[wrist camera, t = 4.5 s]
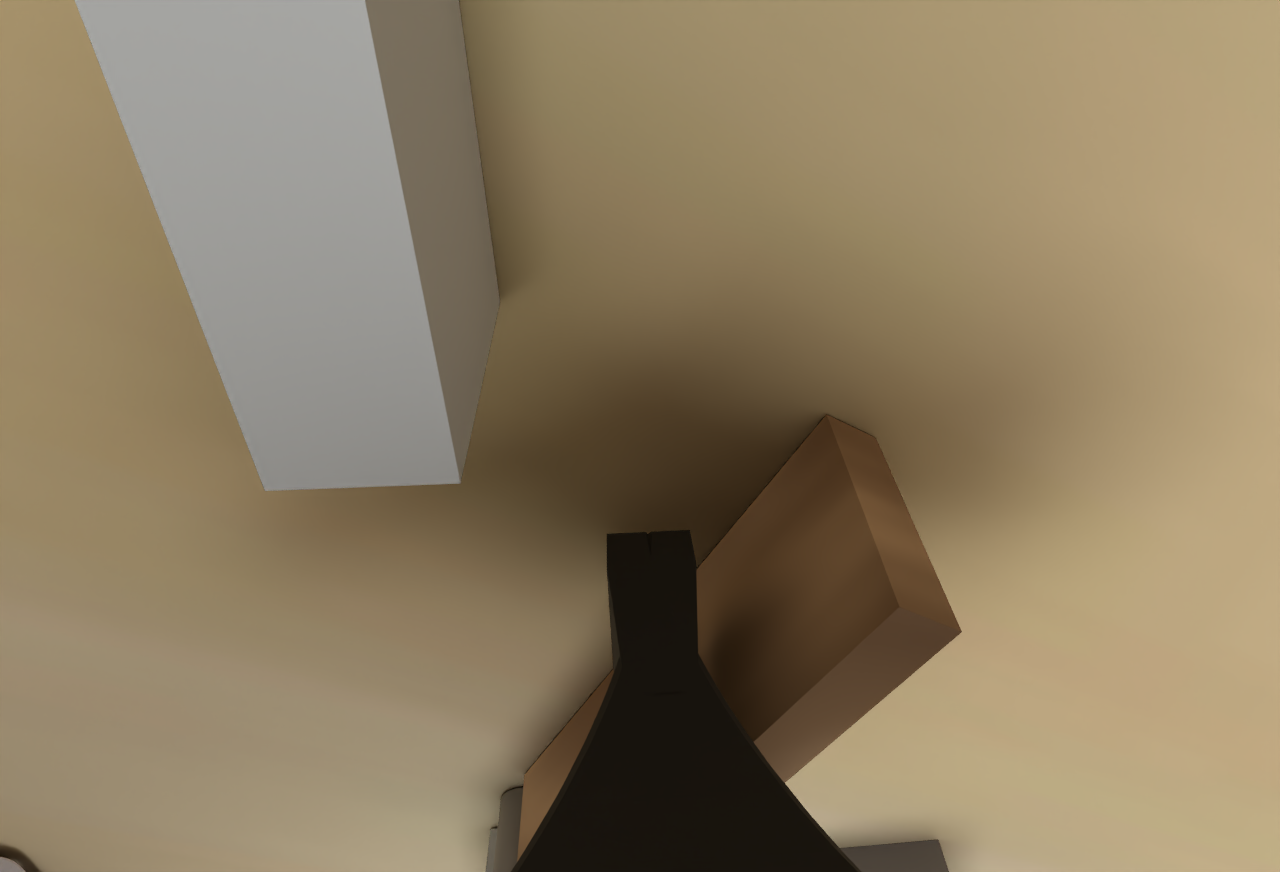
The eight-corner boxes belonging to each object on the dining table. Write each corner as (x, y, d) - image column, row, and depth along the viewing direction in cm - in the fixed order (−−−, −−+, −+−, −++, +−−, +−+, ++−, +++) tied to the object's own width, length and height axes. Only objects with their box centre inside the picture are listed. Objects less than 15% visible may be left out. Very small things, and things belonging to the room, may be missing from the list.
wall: (585, 928, 24) (582, 1121, 20) (516, 931, 24) (501, 1125, 20) (429, -221, 8) (294, -258, 5) (225, -217, 8) (-63, -249, 5)
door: (593, 793, 19) (591, 985, 16) (524, 774, 19) (507, 969, 16) (913, 456, 14) (1009, 650, 10) (826, 414, 13) (899, 606, 10)
